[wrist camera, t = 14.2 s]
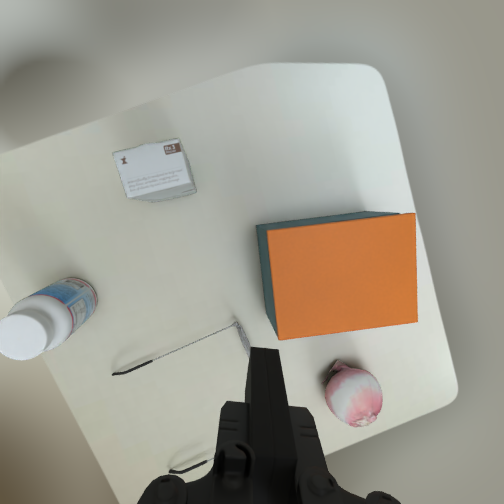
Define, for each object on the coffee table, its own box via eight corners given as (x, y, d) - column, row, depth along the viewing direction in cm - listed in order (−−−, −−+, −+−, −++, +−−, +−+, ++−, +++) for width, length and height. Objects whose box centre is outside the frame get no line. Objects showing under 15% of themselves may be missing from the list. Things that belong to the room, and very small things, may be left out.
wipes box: (365, 211, 42) (399, 212, 34) (370, 297, 44) (402, 316, 36) (256, 225, 40) (265, 230, 33) (266, 313, 42) (277, 337, 35)
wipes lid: (411, 212, 33) (415, 212, 32) (414, 319, 35) (418, 322, 35) (266, 230, 33) (266, 230, 32) (277, 337, 35) (278, 340, 34)
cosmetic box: (152, 203, 38) (124, 203, 26) (141, 168, 37) (107, 152, 26) (199, 192, 39) (192, 186, 27) (189, 156, 38) (178, 135, 26)
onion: (320, 407, 46) (339, 444, 39) (315, 361, 45) (334, 391, 38) (369, 397, 47) (396, 431, 40) (366, 351, 45) (393, 378, 38)
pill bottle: (38, 297, 38) (-33, 335, 27) (74, 267, 38) (19, 293, 27) (73, 331, 40) (18, 380, 29) (108, 302, 40) (68, 339, 29)
